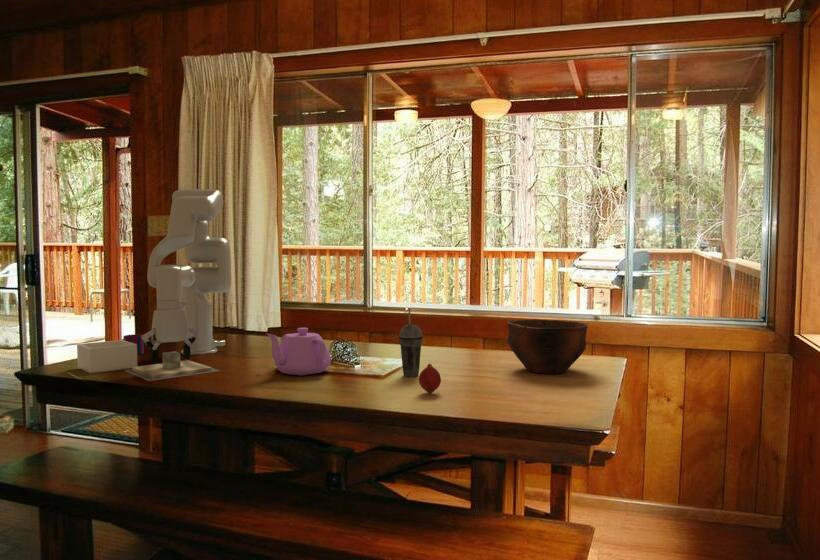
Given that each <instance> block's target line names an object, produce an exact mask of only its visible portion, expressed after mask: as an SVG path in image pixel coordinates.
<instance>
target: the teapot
mask: <svg viewBox="0 0 820 560" xmlns="http://www.w3.org/2000/svg"><path fill="white" fill-rule="evenodd" d="M296 331H297V332H295V333H286V334H284V335H283V336H282V337H281V343H279V342H280V341H279V338H278V337H277V335H274V334H270V333H266V335H267V336H268V337H269V338H270V340H271V355H272V357H271V358H273V361H274V365H275V367H276V368H277V370H278V371H280V373H282V374H286V375H296V376H300V377H305V376H306V375H315V374H319V373H323V372H325V371H327V369H328V368H329V367H330V366H331V363H332V358H331V357H332V356H331V353H330V349H329V348H328V346H327V344H326V342H325V341H324V340H323V338H322V336H321V335H320V334H319V333H314V332H308V331H309V328H308V327H298V328H297V329H296Z"/></svg>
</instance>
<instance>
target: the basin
mask: <svg viewBox="0 0 820 560" xmlns="http://www.w3.org/2000/svg"><path fill="white" fill-rule="evenodd" d="M76 351H77V352H76V353H77V369H78V370H79V369H81V370H82V371H84V372H87V373H89V374H96V373H103V372H104V373H105V372H111V371H112V372H113V371H121V370H129V369H132V367H137V366H138V355H137V344H134V343H131V342H128V341H124V340H122V339H119V340H109V341H108V340H107V341H97V342H87V343H86V342H85V343H77V344H76Z"/></svg>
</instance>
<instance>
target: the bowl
mask: <svg viewBox="0 0 820 560" xmlns="http://www.w3.org/2000/svg"><path fill="white" fill-rule="evenodd" d="M506 325H507V327H508V330H509V331H508V335H507V345H508V346H509V348H510V349H511V351H512V353H513V354H514V355H515V357H516V358H517V359H518V361H520V363H521V364H522V365H523V367H524V368H525V370H527V371H529V372H533V373H538V374H539V373H540V374H561V373H565V372H567V371H568V370H569V368H571V366H573V364H575V362H576V361H578V359H579V358H581V356H582V354H583V353H584V352H585V351H586V349H587V348H586V347H587V342H586V337H587V330H588V327H589V325H588V324H586V323H583V322H578V321H574V320H573V321H571V320H570V321H568V320H567V321H566V320H558V319H557V320H555V319H553V320H552V319H519V320H509V321H506Z"/></svg>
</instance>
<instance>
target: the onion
mask: <svg viewBox="0 0 820 560" xmlns="http://www.w3.org/2000/svg"><path fill="white" fill-rule="evenodd" d="M418 383H419V386H420V387H421V389H423V390H424V391H425V392H426V393H427V394H433V393H434V392H435V391H436V390H437V389H438V388H439V387H440V385H441V383H442V378H441V374H440V372H439V371H438V369H436V367H434V366H433V364H432V363H428V364H427V366H426V367H425V368H423V369H422V371H421V372H419V376H418Z"/></svg>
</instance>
